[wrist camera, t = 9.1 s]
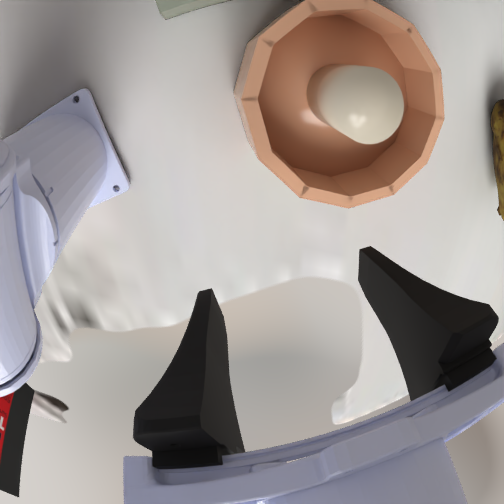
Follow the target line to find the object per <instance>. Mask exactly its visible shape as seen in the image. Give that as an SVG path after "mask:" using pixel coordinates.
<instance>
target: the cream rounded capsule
mask: <svg viewBox="0 0 504 504" xmlns="http://www.w3.org/2000/svg"><path fill="white" fill-rule="evenodd" d="M306 95H307V102H308V105H309V108H310V110H311V111H312V113H313V114H314V115H315V116H316V117H317V118H318V119H319V120H320V121H322V122H324V123H325V124H327V125H329V126H331V127H332V128H334V129H336V130H338V131H339V132H341V133H343V134H344V135H346V136H348V137H349V138H351V139H353V140H355V141H357V142H359V143H363V144H376V143H379V142H382V141H384V140H386V139H387V138H389V137H390V136H391V135H392V134H393V133H394V132H395V131H396V129H397V128H398V126H399V125H400V122H401V120H402V117H403V112H404V100H403V95H402V92H401V89H400V87H399V85H398V84H397V82H396V81H395V80H394V78H393V77H392V76H391V75H389V74H388V73H387V72H385V71H383V70H381V69H379V68H375V67H367V66H358V65H348V64H329V65H326V66H323V67H321V68H320V69H318V70H317V71H316V72H315V73H314V74H313V75H312V77H311V78H310V80H309V83H308V86H307V92H306Z"/></svg>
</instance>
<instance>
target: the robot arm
mask: <svg viewBox="0 0 504 504" xmlns="http://www.w3.org/2000/svg"><path fill="white" fill-rule="evenodd" d="M76 96H78V97H79V102H78V103H77V102H76V101H75V97H76ZM114 185H118V186H119V187H120V189H119V190H117V189H115V188H114ZM129 187H130V181H129V179H128V177H127V175H126V173H125V171H124V169H123V166H122V164H121V162H120V160H119V158H118V156H117V153H116V151H115V149H114V147H113V145H112V142H111V140H110V138H109V136H108V133H107V131H106V129H105V126H104V124H103V122H102V119H101V117H100V114H99V112H98V110H97V107H96V105H95V102H94V100H93V97H92V95H91V92H90V91H89V89H87V88H83V89H80V90H78V91H76V92H75V93H73V94H71V95H70V96H68V97H66V98H65V99H63V100H62V101H60V102H59V103H57V104H55V105H54V106H52V107H51V108H49V109H48V110H46V111H45V112H43V113H42V114H41V115H39V116H38V117H36V118H35V119H34V120H32V121H31V122H29V123H28V124H27V125H25V126H24V127H23V128H21V129H20V130H19V131H18V132H16V133H14V134H12V135H10V136H8V137H7V138H5V139H3V140H1V139H0V397H3V396H6V395H8V394H10V393H13V392H14V391H16V390H17V389H19V388H20V387H21V386H22V385H23V384H24V383H25V382H26V381H28V379H29V378H30V377H31V375H32V374H33V372H34V371H35V369H36V367H37V365H38V362H39V359H40V356H41V351H42V331H41V327H40V323H39V321H38V319H37V316H36V314H35V312H34V308H35V306H36V304H37V302H38V300H39V297H40V295H41V293H42V285H43V284H44V283H45V281H46V280H47V278H48V276H49V275H50V273H51V271H52V269H53V267H54V265H55V263H56V261H57V259H58V257H59V256H60V254H61V252H62V250H63V248H64V247H65V245H66V243H67V241H68V240H69V238H70V236H71V235H72V233H73V231H74V230H75V228H76V226H77V225H78V223H79V221H80V220H81V218H82V217H83V215H84V214H85V212H86V210H87V209H88V208H90V207H93V206H95V205H97V204H99V203H101V202H103V201H106V200H108V199H110V198H112V197H115V196H117V195H119V194H121V193H124V192H126V191H127V190H128V189H129ZM358 281H359V283H360V285H361V288H362V290H363V292H364V294H365V297H366V298H367V300H368V302H369V303H370V305H371V307H372V308H373V310H374V312H375V313H376V315H377V317H378V319H379V320H380V322H381V324H382V325H383V327H384V329H385V330H386V332H387V334H388V336H389V338H390V341H391V343H392V345H393V348H394V350H395V353H396V355H397V358H398V361H399V363H400V366H401V369H402V372H403V375H404V378H405V381H406V385H407V388H408V392H409V395H410V399H411V401H410V402H408V403H406V404H404V405H402V406H399V407H397V408H395V409H392V410H390V411H388V412H385V413H383V414H380V415H378V416H375V417H373V418H370V419H368V420H365V421H362V422H359V423H356V424H354V425H351V426H348V427H345V428H342V429H339V430H336V431H332V432H329V433H326V434H323V435H319V436H316V437H312V438H308V439H305V440H301V441H297V442H293V443H289V444H285V445H281V446H276V447H271V448H266V449H261V450H256V451H250V452H245V449H244V445H243V441H242V437H241V433H240V429H239V425H238V420H237V416H236V411H235V406H234V401H233V395H232V390H231V384H230V376H229V361H228V344H227V333H226V327H225V321H224V316H223V314H222V311H221V309H220V307H219V304H218V302H217V300H216V297H215V295H214V292H213V290H212V288H211V289H207V290H203V291H199V293H198V295H197V299H196V302H195V306H194V309H193V312H192V315H191V318H190V321H189V324H188V327H187V329H186V332H185V334H184V337H183V339H182V341H181V344H180V346H179V348H178V350H177V352H176V354H175V356H174V358H173V360H172V362H171V363H170V365H169V367H168V368H167V370H166V372H165V373H164V375H163V376H162V378H161V380H160V381H159V382H158V384H157V385H156V386H155V388H154V389H153V391H152V392H151V394H150V395H149V396H148V397H147V398H146V399H145V400H144V401H143V403H142V404H141V405H140V406H139V407H138V408H137V409H136V411H135V417H134V429H133V438H134V440H135V441H136V442H137V443H139V444H140V445H142V446H144V447H146V448H147V449H149V450H151V451H152V457H148V456H125V457H124V463H123V464H124V465H123V466H124V467H123V468H124V469H123V474H124V475H123V477H124V478H123V479H124V480H123V481H124V504H468V503H467V500H466V498H465V495H464V492H463V489H462V486H461V483H460V481H459V478H458V475H457V472H456V470H455V468H454V465H453V462H452V460H451V457H450V455H449V452H448V450H447V447H446V445H445V442H447V441H448V440H450V439H452V438H453V437H455V436H457V435H458V434H460V433H461V432H463V431H464V430H466V429H467V428H469V427H470V426H472V425H473V424H475V423H476V422H477V421H479V420H480V419H482V418H483V417H485V416H486V415H487V414H489V413H490V412H491V411H493V410H494V409H495V408H497V407H498V406H499V405H501V404H502V403H503V402H504V343H502V344H501V345H499V346H498V347H497V348H496V349H495V350H494V351H493V352H492V350H491V349H490V347H491V345H492V343H491V342H490V340H489V338H490V336H491V335H492V333H493V331H494V330H495V328H496V326H497V324H498V320H499V318H498V316H497V314H496V313H495V312H494V310H493V309H492V308H491V306H490V305H489V304H486V303H481V302H477V301H473V300H469V299H466V298H463V297H460V296H457V295H454V294H452V293H449V292H447V291H444V290H442V289H440V288H438V287H436V286H434V285H432V284H430V283H428V282H426V281H424V280H422V279H420V278H418V277H417V276H415V275H413V274H412V273H410V272H408V271H407V270H405V269H404V268H402V267H401V266H399V265H398V264H396V263H395V262H393V261H392V260H390V259H389V258H387V257H386V256H384V255H383V254H381V253H380V252H379V251H377V250H376V249H374V248H373V247H371V246H370V247H366V248H363V249H360V251H359V274H358ZM311 455H312V456H311ZM308 456H309V457H308ZM304 457H306V458H304ZM299 458H302V459H299ZM296 459H299V460H296ZM291 460H296V461H293V462H290V463H287V461H291Z"/></svg>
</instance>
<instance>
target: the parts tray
mask: <svg viewBox="0 0 504 504" xmlns="http://www.w3.org/2000/svg"><path fill="white" fill-rule="evenodd" d="M155 1H156V3H157V6H158V9H159V12H160V14H161V15H162V16H163V17H164V18H165V20H167V19H170V18H172V17H175V16H178V15H181V14H184V13H187V12H190V11H194V10H197V9H200V8H204V7H207V6H211V5H215V4H219V3H223V2H227V1H231V0H155Z"/></svg>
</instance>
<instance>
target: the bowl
mask: <svg viewBox="0 0 504 504" xmlns="http://www.w3.org/2000/svg"><path fill="white" fill-rule="evenodd" d="M329 64H348V65H358V66H367V67H375V68H379V69H381V70H383V71H385V72H387V73H388V74H389V75H391V76H392V77H393V78H394V80H395V81H396V82H397V84H398V85H399V87H400V89H401V92H402V95H403V100H404V112H403V117H402V120H401V122H400V125H399V126H398V128H397V129H396V131H395V132H394V133H393V134H392V135H391V136H390V137H389V138H387V139H386V140H384V141H382V142H379V143H376V144H363V143H359V142H357V141H355V140H353V139H351V138H349V137H348V136H346V135H344V134H343V133H341V132H339V131H338V130H336V129H334V128H332V127H331V126H329V125H327V124H325V123H324V122H322V121H320V120H319V119H318V118H317V117H316V116H315V115H314V114H313V113H312V111H311V110H310V108H309V105H308V102H307V95H306V92H307V86H308V83H309V80H310V78H311V77H312V75H313V74H314V73H315V72H316V71H317V70H318V69H320V68H321V67H323V66H326V65H329ZM233 93H234V96H235V99H236V103H237V106H238V109H239V112H240V116H241V119H242V122H243V125H244V129H245V132H246V135H247V139H248V142H249V143H250V145H251V147H252V149H253V150H254V152H255V154H256V156H257V158H258V159H259V160H260V161H261V162H262V163H263V164H264V165H265V166H266V167H267V168H268V169H270V170H271V171H272V172H273V173H274V174H275V175H276V176H277V177H278V178H279V179H280V180H281V181H283V182H284V183H285V184H286V185H287V186H288V187H289V188H290V189H291V190H292V191H293V192H294V193H295V194H296V195H297V196H298V197H300V198H303V199H308V200H313V201H318V202H322V203H327V204H331V205H336V206H340V207H345V208H351V207H355V206H358V205H361V204H365V203H368V202H371V201H375V200H378V199H381V198H385V197H388V196H392V195H394V194H395V193H396V192H397V191H398V190H399V189H400V188H401V187H403V186H404V185H405V184H406V183H407V182H408V181H409V180H410V179H411V178H412V177H413V176H414V175H415V174H416V173H417V172H418V171H419V170H421V169H422V168H423V167H424V166H425V165H426V164H427V162H428V160H429V158H430V155H431V153H432V150H433V148H434V145H435V143H436V140H437V137H438V135H439V132H440V129H441V127H442V124H443V121H444V102H443V88H442V78H441V69H440V68H439V66H438V64H437V62H436V60H435V59H434V57H433V55H432V53H431V52H430V50H429V48H428V47H427V45H426V43H425V42H424V40H423V38H422V37H421V35H420V34H419V32H418V31H417V29H416V28H415V26H414V25H413V24H412V23H410V22H409V21H407V20H405V19H404V18H402V17H401V16H399V15H397V14H396V13H394V12H392V11H391V10H389V9H387V8H385V7H384V6H382V5H380V4H378V3H376V2H375V1H373V0H304V1H302V2H301V3H299V4H297V5H295V6H293V7H292V8H290V9H288V10H287V11H285V12H284V13H283V14H281V15H280V16H279V17H278V18H276V19H275V20H274V21H273V22H271V23H270V24H269V25H268V26H267V27H265V28H264V29H263V30H262V31H261V32H259V33H258V34H257V35H256V36H255V37H254V38H253V39H251V40H250V41H249V42H248V43H247V46H246V49H245V52H244V56H243V59H242V63H241V67H240V70H239V74H238V77H237V81H236V85H235V89H234V92H233Z"/></svg>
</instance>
